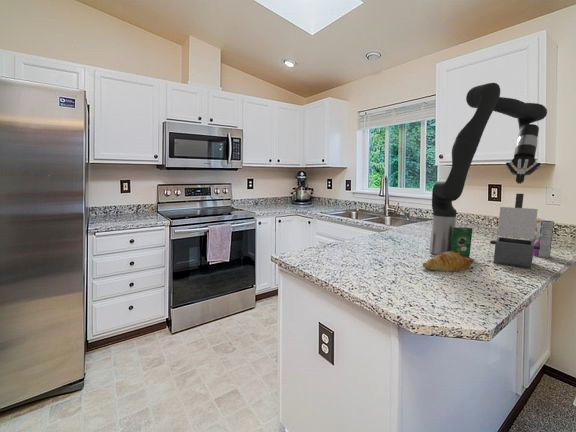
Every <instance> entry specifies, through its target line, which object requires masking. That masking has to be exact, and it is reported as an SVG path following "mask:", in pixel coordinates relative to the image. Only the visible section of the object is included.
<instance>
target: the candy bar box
mask: <svg viewBox="0 0 576 432" xmlns="http://www.w3.org/2000/svg"><path fill="white" fill-rule="evenodd" d="M554 226H555V220H550V219H546V218H544V217H538V216H537V219H536V228H535V236H534V239H525V238H524V240H530V241H533V242H534V245H537V246H540V250H537V249H534V251H533V256H535V257H537V258H551V251H552V250H551V249H552V243H553V242H552V241H553V233H554Z"/></svg>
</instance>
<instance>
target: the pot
mask: <svg viewBox="0 0 576 432" xmlns="http://www.w3.org/2000/svg"><path fill="white" fill-rule="evenodd" d="M489 244H490V245H494V253H493V264H495V265H501V266H502V265H503V266H509V267H513V268H514V267H515V268H520V269H521V268H522V269H529V270H532V267H533V265H532V264H533V260H534V255H533V251H534V249H537V250H540V246H537V245H534V242H533V241H530V240H525V239H522V238H513V237H504V236H497V237H496V240H490V243H489Z"/></svg>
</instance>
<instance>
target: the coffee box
mask: <svg viewBox="0 0 576 432" xmlns="http://www.w3.org/2000/svg"><path fill="white" fill-rule="evenodd" d="M473 231H474V230H473V228H472V227H470V226H464V227H463V226H457V227H456V226H455V227H453V235H452V245H451V251H452V252H456V253H458V254H459V255H461V256H463V257H465V258H470V256H471V245H472V240H473V239H472V238H473V236H472V235H473Z"/></svg>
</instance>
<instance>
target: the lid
mask: <svg viewBox="0 0 576 432" xmlns="http://www.w3.org/2000/svg"><path fill="white" fill-rule="evenodd" d="M524 194H525V193H515V204H514V207H511V206H510V207H509V206H500V207H499V216H498V225H497V226H498V227H497V233H496V235H497V237H505V238H515V239H524V240H525V239H534V236H535V228H536V219H537V217H538V210H539V209H538V208H525V207H523V203H524V197H525V196H524Z"/></svg>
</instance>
